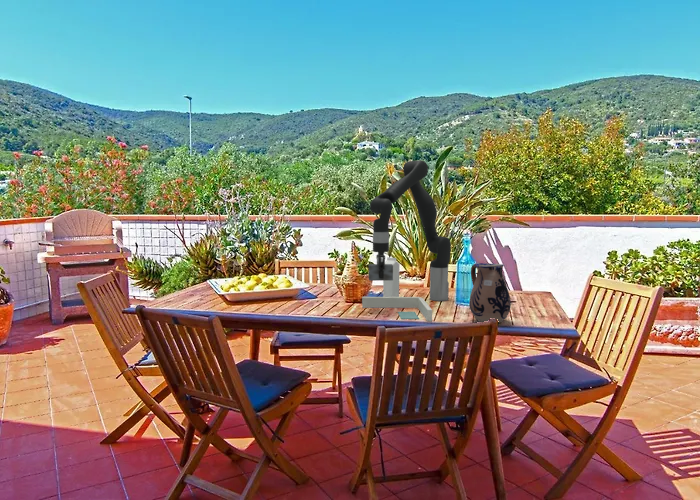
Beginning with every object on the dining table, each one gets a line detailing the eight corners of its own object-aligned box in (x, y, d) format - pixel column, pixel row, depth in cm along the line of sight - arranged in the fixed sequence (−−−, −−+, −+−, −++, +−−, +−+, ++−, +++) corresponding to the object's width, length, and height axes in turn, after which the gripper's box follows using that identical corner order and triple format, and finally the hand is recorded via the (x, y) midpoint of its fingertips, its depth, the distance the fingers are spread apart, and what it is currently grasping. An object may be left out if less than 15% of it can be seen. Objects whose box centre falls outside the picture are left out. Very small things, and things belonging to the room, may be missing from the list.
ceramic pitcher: (492, 328, 227) (494, 268, 224) (454, 318, 244) (455, 263, 241) (518, 322, 237) (520, 265, 235) (480, 314, 254) (482, 260, 252)
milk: (392, 301, 283) (392, 258, 281) (382, 299, 287) (383, 257, 285) (399, 299, 288) (399, 257, 285) (390, 297, 292) (390, 256, 289)
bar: (391, 278, 260) (391, 264, 260) (392, 280, 255) (392, 265, 255) (368, 278, 260) (368, 264, 259) (369, 280, 255) (369, 265, 254)
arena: (421, 306, 269) (421, 296, 268) (431, 321, 239) (432, 309, 238) (362, 306, 268) (362, 296, 268) (365, 321, 238) (365, 309, 238)
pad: (414, 312, 257) (414, 311, 257) (419, 319, 243) (419, 318, 243) (397, 312, 257) (397, 311, 257) (401, 319, 243) (401, 318, 243)
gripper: (390, 242, 249) (390, 280, 251) (387, 240, 263) (387, 275, 265) (373, 243, 249) (373, 280, 250) (371, 240, 263) (371, 275, 265)
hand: (380, 277), depth 258 cm, fingers closed on bar, 5 cm apart
